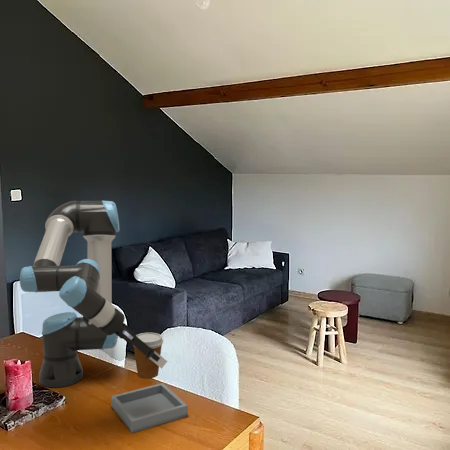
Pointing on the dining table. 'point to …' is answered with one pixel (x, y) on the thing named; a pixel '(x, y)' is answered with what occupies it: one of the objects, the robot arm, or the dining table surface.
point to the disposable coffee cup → (145, 366)
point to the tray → (148, 407)
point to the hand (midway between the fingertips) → (157, 359)
